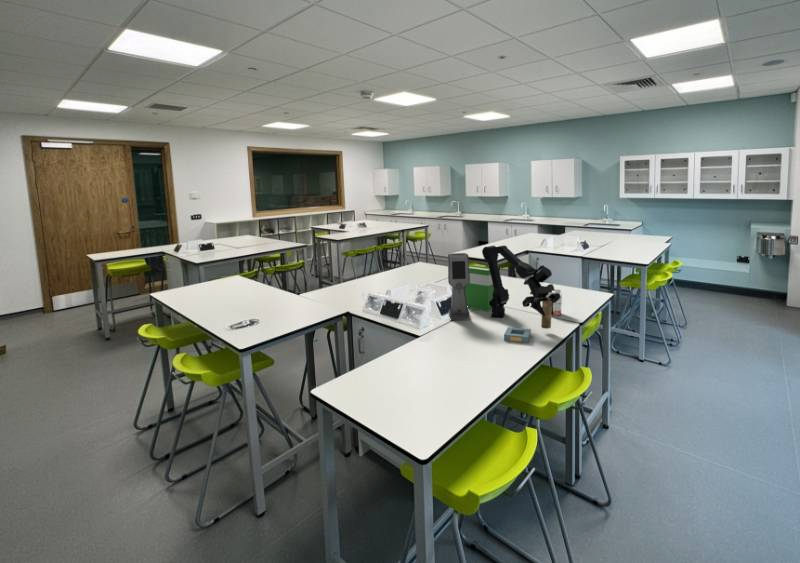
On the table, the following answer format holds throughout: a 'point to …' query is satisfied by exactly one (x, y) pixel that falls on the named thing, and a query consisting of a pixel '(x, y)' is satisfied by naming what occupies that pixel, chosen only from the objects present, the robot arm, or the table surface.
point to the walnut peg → (546, 314)
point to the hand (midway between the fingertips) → (548, 314)
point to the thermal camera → (458, 285)
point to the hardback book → (479, 288)
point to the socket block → (517, 335)
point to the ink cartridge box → (556, 305)
